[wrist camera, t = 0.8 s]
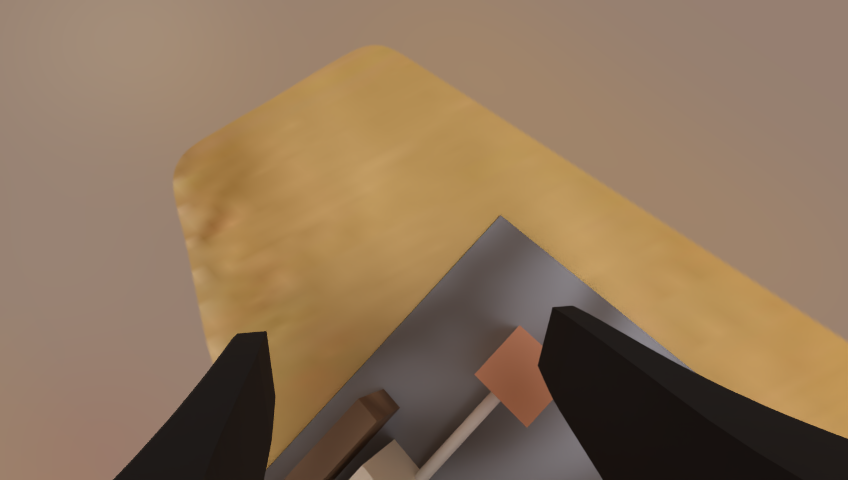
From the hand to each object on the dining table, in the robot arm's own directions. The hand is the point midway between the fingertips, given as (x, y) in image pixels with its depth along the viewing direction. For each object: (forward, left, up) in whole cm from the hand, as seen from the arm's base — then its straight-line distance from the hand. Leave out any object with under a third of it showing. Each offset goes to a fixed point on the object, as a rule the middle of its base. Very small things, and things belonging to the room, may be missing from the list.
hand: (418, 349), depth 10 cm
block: (-4, +5, -15) cm, 16 cm away
